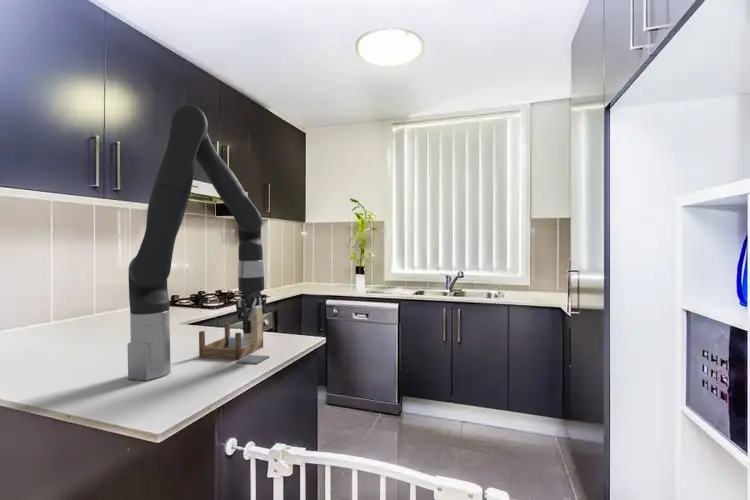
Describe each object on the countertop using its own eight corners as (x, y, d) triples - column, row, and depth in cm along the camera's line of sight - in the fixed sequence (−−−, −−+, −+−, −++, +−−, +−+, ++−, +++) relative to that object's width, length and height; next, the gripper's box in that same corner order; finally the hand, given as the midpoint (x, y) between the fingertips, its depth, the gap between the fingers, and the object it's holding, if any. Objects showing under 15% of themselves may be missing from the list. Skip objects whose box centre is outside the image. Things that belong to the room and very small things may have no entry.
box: (257, 344, 112) (256, 307, 112) (242, 344, 112) (241, 307, 112) (262, 339, 118) (261, 304, 117) (249, 339, 118) (248, 304, 117)
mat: (257, 364, 111) (257, 362, 111) (235, 362, 112) (235, 361, 112) (269, 357, 117) (269, 356, 117) (248, 356, 119) (248, 354, 119)
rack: (239, 359, 116) (238, 333, 116) (199, 357, 119) (198, 331, 119) (263, 347, 130) (262, 323, 130) (227, 345, 133) (226, 322, 133)
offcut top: (239, 347, 119) (239, 338, 119) (228, 347, 120) (228, 337, 120) (251, 343, 125) (250, 334, 125) (240, 342, 126) (240, 333, 126)
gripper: (249, 277, 107) (251, 337, 107) (273, 273, 121) (275, 326, 121) (226, 277, 108) (227, 336, 109) (252, 273, 123) (253, 325, 123)
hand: (252, 330), depth 115 cm, fingers closed on box, 5 cm apart
